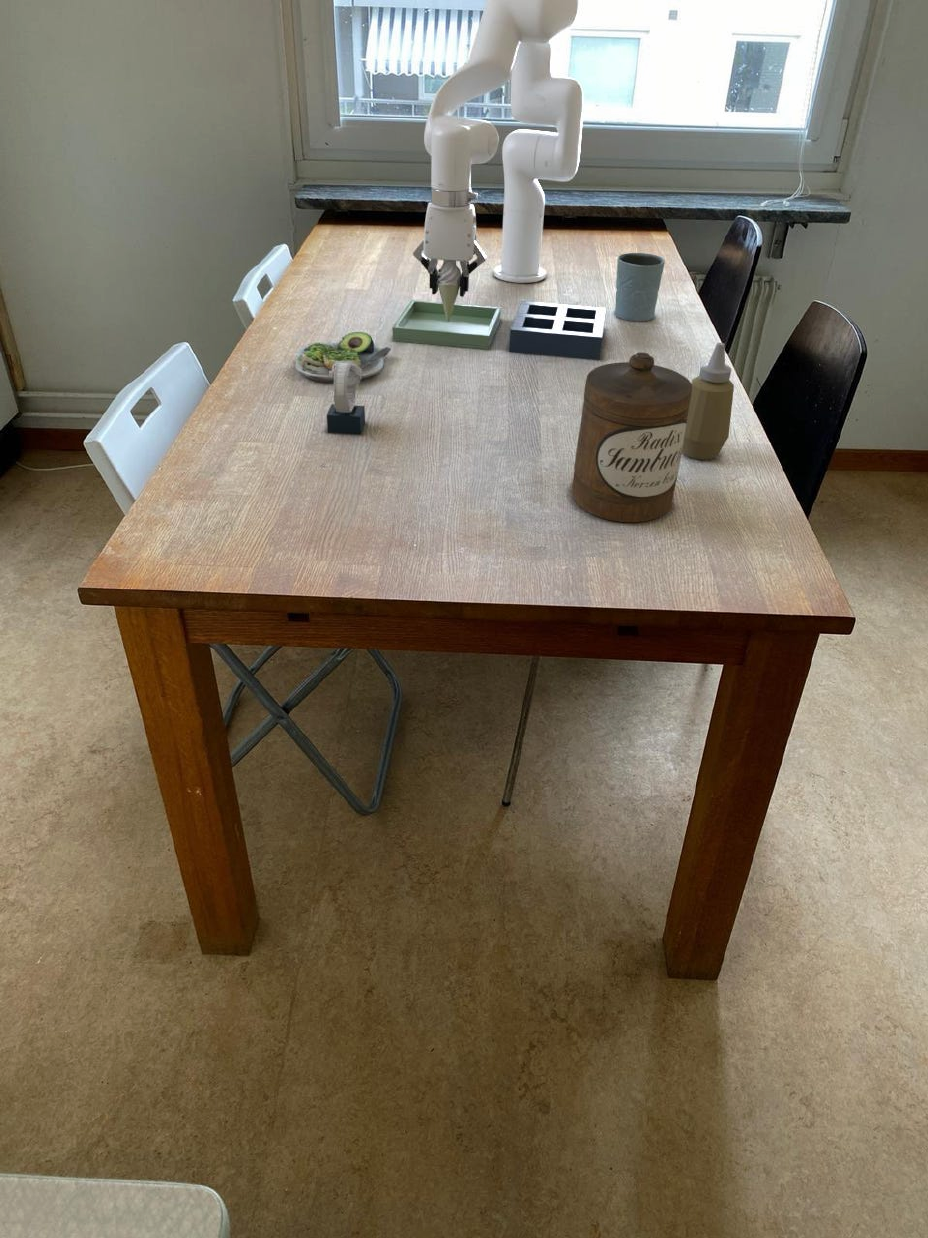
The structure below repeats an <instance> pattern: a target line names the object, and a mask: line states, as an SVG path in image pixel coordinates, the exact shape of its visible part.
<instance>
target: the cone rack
mask: <svg viewBox="0 0 928 1238" xmlns="http://www.w3.org/2000/svg"><path fill="white" fill-rule="evenodd" d="M606 314H607V307H597V306H586V305H575V304H562V303H551V302H540V301H539V302H538V301H528V300H527V301H526V300H520V303H519V306H518V309H517V311H516V313H515V317H514V319H513V322H512V324H511V327H510V329H509V330H510V332H509V343H508V344H509V347H508V352H510V353H517V354H528V355H529V354H530V355H540V356H541V355H542V356H553V357H561V358H563V357H564V358H572V359H573V358H574V359H585V360H596V361H600V359H601V353H602V345H603V339H604V331H605V324H606Z"/></svg>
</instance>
